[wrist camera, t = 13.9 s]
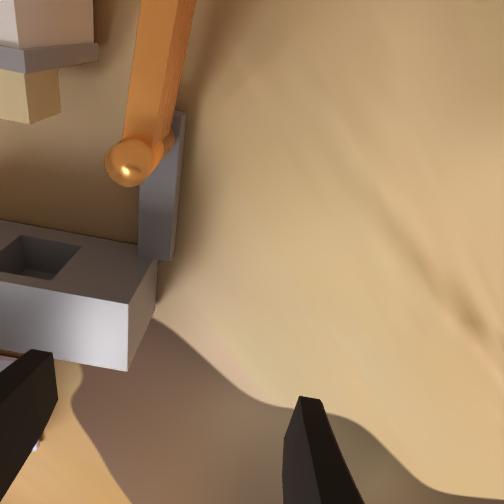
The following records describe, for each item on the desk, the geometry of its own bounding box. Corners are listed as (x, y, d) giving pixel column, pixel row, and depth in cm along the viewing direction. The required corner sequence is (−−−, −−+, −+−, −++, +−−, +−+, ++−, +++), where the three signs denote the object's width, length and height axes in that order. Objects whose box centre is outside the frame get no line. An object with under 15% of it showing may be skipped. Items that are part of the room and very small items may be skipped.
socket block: (169, 311, 22) (144, 374, 18) (-23, 277, 22) (-91, 333, 18) (186, 112, 16) (156, 139, 12) (-72, 61, 16) (-187, 72, 12)
